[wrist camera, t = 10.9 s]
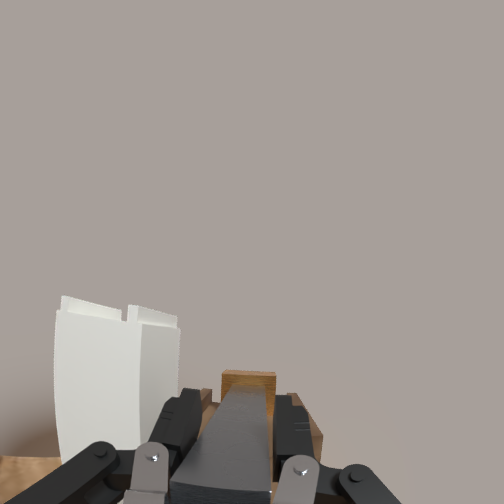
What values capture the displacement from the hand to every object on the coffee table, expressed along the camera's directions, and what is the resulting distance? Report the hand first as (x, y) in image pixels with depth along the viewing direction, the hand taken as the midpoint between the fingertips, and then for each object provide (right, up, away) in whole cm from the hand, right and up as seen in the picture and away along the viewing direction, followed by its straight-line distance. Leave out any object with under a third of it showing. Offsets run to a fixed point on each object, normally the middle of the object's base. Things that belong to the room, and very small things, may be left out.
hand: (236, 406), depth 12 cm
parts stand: (-15, -31, +7) cm, 35 cm away
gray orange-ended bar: (0, -6, +4) cm, 7 cm away
